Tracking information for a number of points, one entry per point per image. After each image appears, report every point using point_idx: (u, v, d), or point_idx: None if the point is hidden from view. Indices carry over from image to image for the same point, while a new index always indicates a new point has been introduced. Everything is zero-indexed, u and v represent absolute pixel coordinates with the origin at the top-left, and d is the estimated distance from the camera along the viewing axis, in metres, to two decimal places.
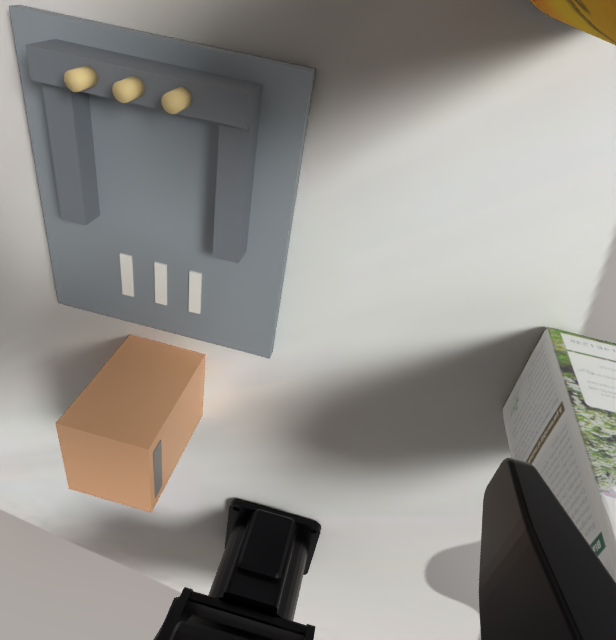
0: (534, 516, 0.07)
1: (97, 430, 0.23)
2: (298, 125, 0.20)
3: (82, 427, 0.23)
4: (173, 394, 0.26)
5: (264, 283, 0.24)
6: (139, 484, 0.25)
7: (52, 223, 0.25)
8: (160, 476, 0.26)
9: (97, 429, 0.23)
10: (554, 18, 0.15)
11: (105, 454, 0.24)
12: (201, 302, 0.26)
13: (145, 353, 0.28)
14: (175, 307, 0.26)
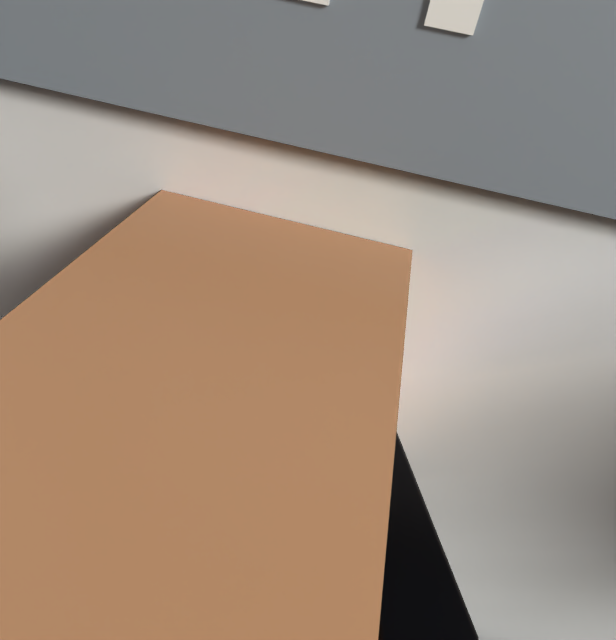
0: None
1: None
2: None
3: None
4: (368, 379, 0.06)
5: None
6: None
7: None
8: None
9: None
10: None
11: None
12: None
13: (219, 239, 0.08)
14: (363, 18, 0.06)
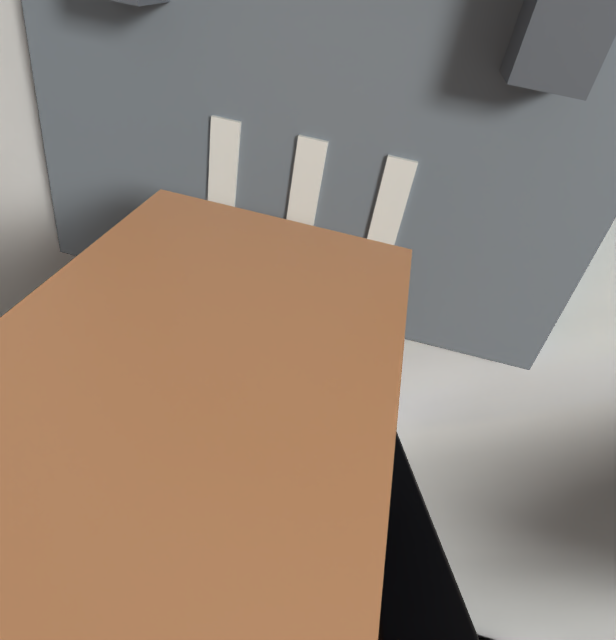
0: None
1: None
2: None
3: None
4: (367, 379, 0.06)
5: (587, 182, 0.09)
6: None
7: (46, 40, 0.10)
8: None
9: None
10: None
11: None
12: (395, 240, 0.11)
13: (219, 238, 0.08)
14: None
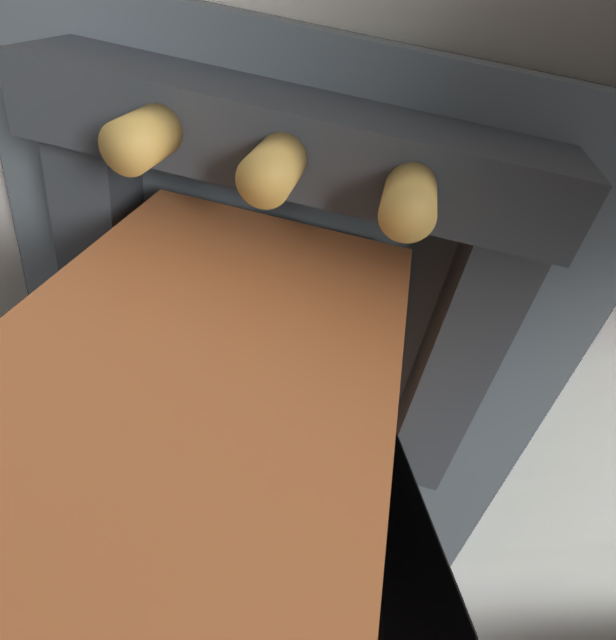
0: None
1: None
2: None
3: None
4: (367, 379, 0.06)
5: (458, 497, 0.13)
6: None
7: None
8: None
9: None
10: None
11: None
12: None
13: (219, 237, 0.08)
14: None
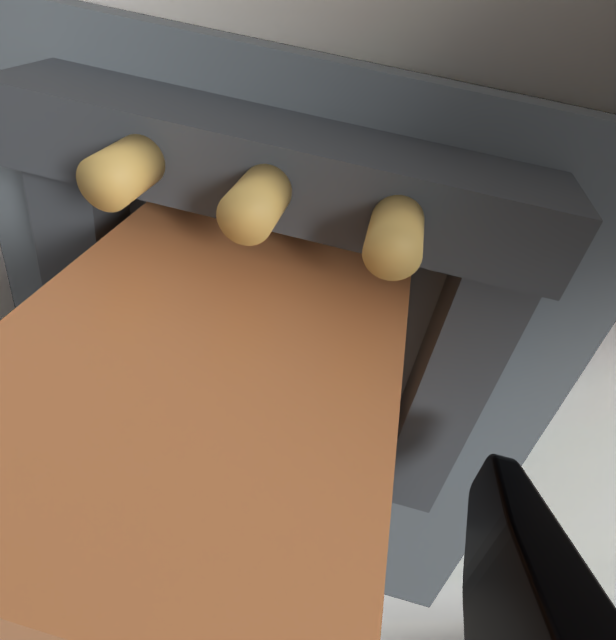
0: (516, 511, 0.07)
1: (14, 580, 0.04)
2: None
3: None
4: (372, 366, 0.06)
5: (452, 516, 0.13)
6: None
7: None
8: None
9: (18, 572, 0.04)
10: None
11: None
12: None
13: None
14: None
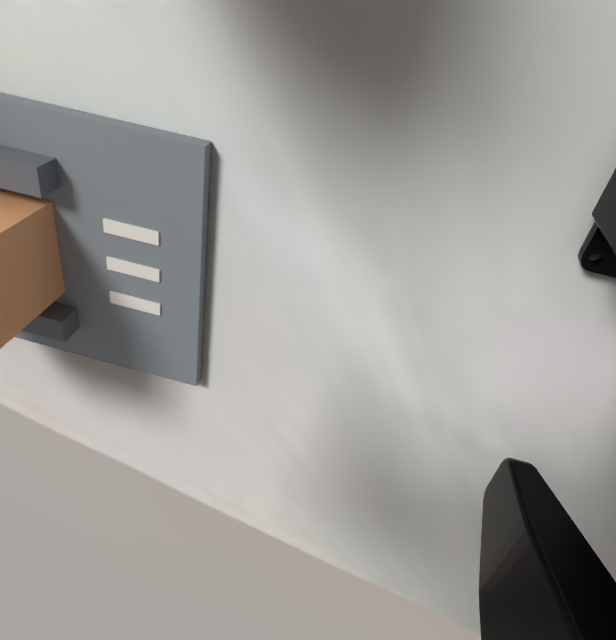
0: (534, 516, 0.07)
1: None
2: None
3: None
4: None
5: (89, 139, 0.19)
6: None
7: (103, 354, 0.25)
8: None
9: None
10: None
11: None
12: (144, 227, 0.21)
13: None
14: (161, 260, 0.21)
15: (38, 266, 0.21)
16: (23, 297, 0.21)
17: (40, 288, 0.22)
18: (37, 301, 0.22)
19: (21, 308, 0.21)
